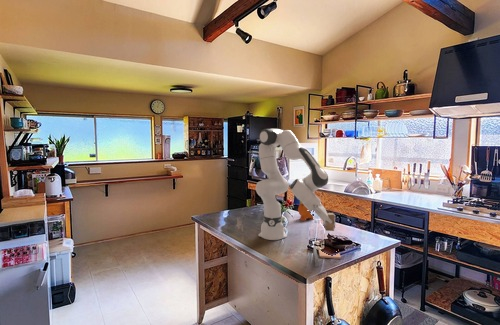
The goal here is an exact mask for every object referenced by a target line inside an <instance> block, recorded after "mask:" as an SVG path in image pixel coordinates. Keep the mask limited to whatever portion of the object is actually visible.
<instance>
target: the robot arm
mask: <svg viewBox="0 0 500 325" xmlns="http://www.w3.org/2000/svg"><path fill="white" fill-rule="evenodd" d="M258 139H259V142H260V144H259V146H258V156H259V157H258V159H259V163H260V168H261V169H260V170H261V171H262V172H263V173H264V174H265V175H266V176H267V178H266V179H262V180H260V181H258V182H257V183H256V185H255V192H256V194H257V195H258V196H259V197H260V198H261V201H262V203H263V212H264V214H263V222H262V223H261V226H260V233H258V237H261V238H262V239H264V240H270V241H277V240H281V239H285V238H287V234H286V232H285V228H284V224H283V222H282V219H283V218H282V205H281V203H280V202H279V201H278V200H277V198H276V195H282V194H285V193H286V192H287V191H288V190H290V191H291V193H292V195H294V196H295V198H296V199H297V200H298V201H299V202H300V201H301V202H302V203H303V205H304V206H305V207H306V208H307V209H308V210H309V211H312V210H313V212H314V211H315V214H316V215H317V217H319V219H321V221H322V222H323V221H328V222H329V223H330V224H331V223H332V220H331V219H330V218H329V217H328V214H327V213H328V211H327V210H326V208H325V207H324V205H323V204H322V199H320V197H319V196H317V195H316V193H315V191H316V192H317V190H319V189H320V188H322V187H325V186H327V184H328V182H329V176H328V174H327V172H326V171H325V170H324V169H323V168H322V167H321V165H320V164H319V162H318V161H317V160H316V158H315V157H314V156H313V154H312V153H311V152H310V151H309V150H308V148H307V147H304V146H302V145H301V143H300V141H299V139H298V138H297V137H296V135H295V134H294V132H293V131H292V130H290V129H286V130H284V129H282V128H276V127H275V128H264V129H262V130H261V131H260V133H259V135H258ZM276 148H281V149H282V152H283V153H284V156H285V157H286V158H287V159H288V160H291V161H297V160H302V161H303V162H304V164H305V165H306V166H307V167H308V169H309V170H310V173H309V174H308V175H307V176H305V177H302V178H296V179H295V180H293V181H292V183H291V185H290V183H289V181H288V180H287V178H284V176H283V174H282V173H281V171H280V169H279V165H278V161H277V154H276Z"/></svg>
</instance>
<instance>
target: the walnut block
mask: <svg viewBox="0 0 500 325" xmlns="http://www.w3.org/2000/svg"><path fill="white" fill-rule="evenodd" d="M327 214H328V217H329V218H330V219H331V220H332V223H331V224H330V223H329V222H328V221H325V226H324V229H325V231H326V232H334V231H335V226H334V215H335V214H334V213H333V212H327Z"/></svg>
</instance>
